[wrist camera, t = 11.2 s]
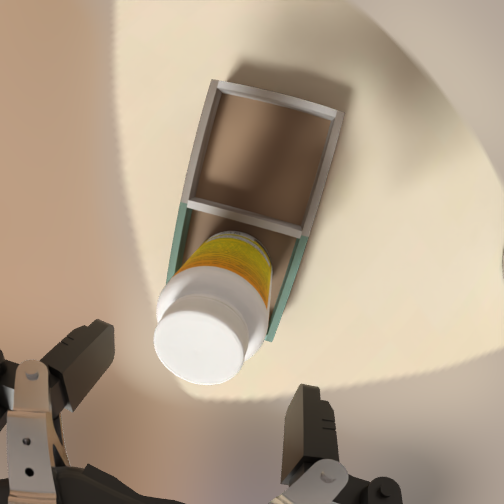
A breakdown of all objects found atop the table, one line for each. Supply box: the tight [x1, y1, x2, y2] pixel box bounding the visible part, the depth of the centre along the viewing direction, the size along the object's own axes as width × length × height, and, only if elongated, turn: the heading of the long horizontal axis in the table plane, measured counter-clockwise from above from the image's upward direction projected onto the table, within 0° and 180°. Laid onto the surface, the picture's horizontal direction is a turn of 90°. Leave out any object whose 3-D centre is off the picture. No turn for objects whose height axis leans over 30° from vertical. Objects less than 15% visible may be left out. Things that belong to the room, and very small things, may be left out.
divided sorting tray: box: [166, 79, 345, 342], centre depth 20 cm, size 8×16×3 cm, turn 165°
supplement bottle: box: [154, 231, 273, 385], centre depth 16 cm, size 6×6×10 cm
